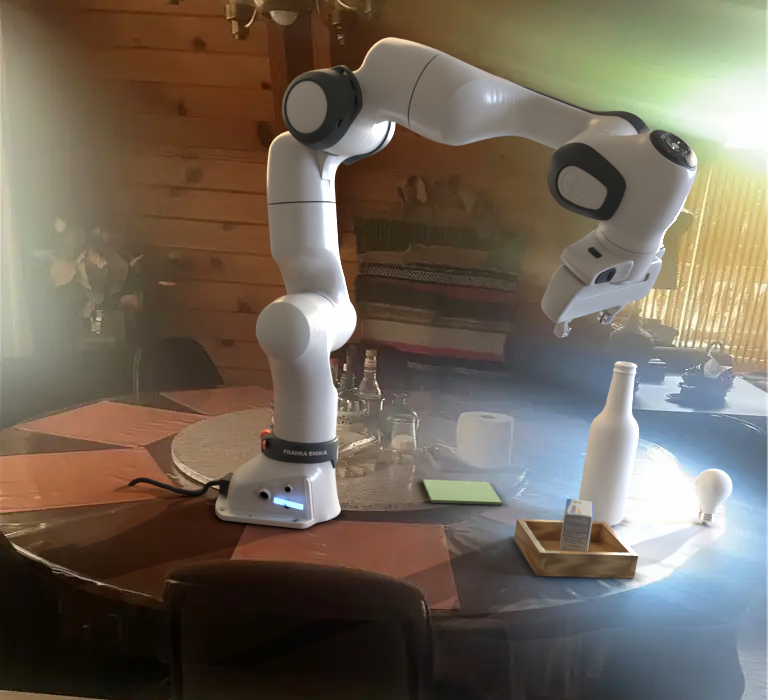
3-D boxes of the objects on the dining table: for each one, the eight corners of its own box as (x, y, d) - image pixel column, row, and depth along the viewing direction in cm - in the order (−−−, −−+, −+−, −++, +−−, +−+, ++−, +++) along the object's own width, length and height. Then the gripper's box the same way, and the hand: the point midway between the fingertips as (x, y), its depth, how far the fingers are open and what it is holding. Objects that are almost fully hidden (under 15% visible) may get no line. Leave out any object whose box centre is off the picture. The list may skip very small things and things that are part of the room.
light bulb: (729, 525, 147) (742, 472, 143) (712, 532, 142) (725, 477, 139) (697, 514, 151) (709, 462, 148) (680, 520, 147) (691, 467, 144)
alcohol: (590, 506, 151) (615, 357, 142) (631, 519, 146) (659, 365, 137) (567, 515, 145) (592, 361, 136) (609, 530, 140) (637, 369, 130)
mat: (431, 502, 147) (431, 499, 146) (422, 481, 158) (422, 479, 158) (501, 505, 148) (502, 502, 148) (488, 484, 160) (488, 481, 159)
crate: (536, 576, 119) (540, 552, 117) (514, 539, 132) (516, 518, 131) (634, 578, 120) (638, 555, 119) (602, 542, 134) (605, 521, 132)
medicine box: (585, 567, 122) (593, 517, 119) (557, 562, 123) (564, 513, 120) (585, 548, 129) (593, 501, 126) (559, 544, 130) (566, 497, 127)
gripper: (654, 228, 112) (614, 302, 123) (554, 251, 103) (520, 329, 113) (684, 253, 109) (641, 326, 120) (584, 279, 100) (546, 356, 110)
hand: (581, 328), depth 116 cm, fingers open, 8 cm apart
